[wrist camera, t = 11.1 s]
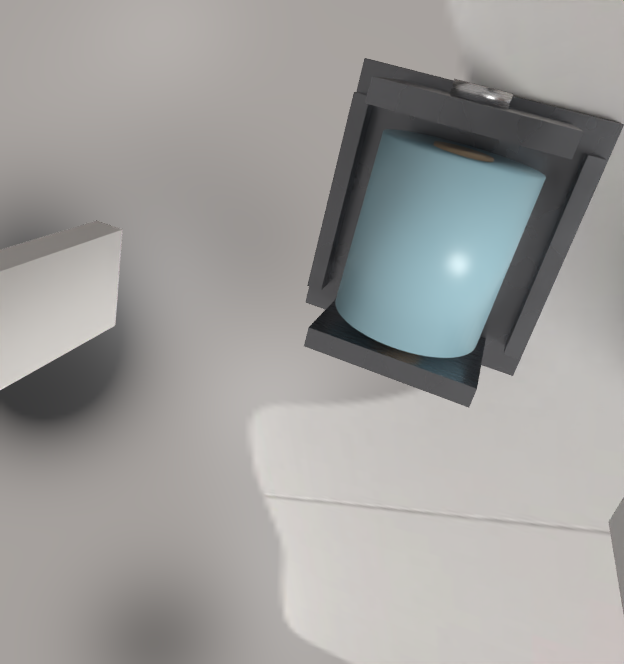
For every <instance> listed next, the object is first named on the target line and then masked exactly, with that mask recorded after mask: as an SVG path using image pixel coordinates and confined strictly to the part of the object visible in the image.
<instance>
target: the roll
mask: <svg viewBox="0 0 624 664" xmlns="http://www.w3.org/2000/svg"><path fill="white" fill-rule="evenodd" d="M545 179H546V176H545V175H544V174H542V173H541V172H539V171H537V170H535V169H533V168H531V167H529V166H526V165H524V164H522V163H519V162H516V161H514V160H511V159H508V158H506V157H503V156H500V155H497V154H494V153H491V152H488V151H484V150H481V149H478V148H475V147H471V146H468V145H464V144H461V143H457V142H453V141H450V140H446V139H442V138H438V137H434V136H429V135H425V134H420V133H415V132H409V131H403V130H395V129H386V130H384V131H383V133H382V137H381V140H380V144H379V147H378V151H377V155H376V158H375V162H374V165H373V169H372V172H371V176H370V179H369V183H368V186H367V190H366V194H365V197H364V201H363V204H362V208H361V211H360V215H359V218H358V222H357V226H356V229H355V233H354V236H353V240H352V243H351V247H350V250H349V254H348V258H347V261H346V265H345V268H344V272H343V275H342V279H341V282H340V286H339V290H338V293H337V297H336V300H335V305H336V308H337V310H338V312H339V314H340V315H341V316H342V318H343V319H344V320H345V321H346V322H348V323H349V324H350V325H351V326H352V327H354V328H355V329H357V330H358V331H360V332H361V333H363V334H365V335H366V336H368V337H370V338H372V339H374V340H376V341H378V342H380V343H383V344H385V345H388V346H390V347H393V348H396V349H399V350H402V351H405V352H409V353H413V354H417V355H423V356H428V357H437V358H453V357H460V356H464V355H467V354H469V353H471V352H472V351H473V350H474V349H475V347H476V345H477V343H478V340H479V338H480V335H481V333H482V331H483V328H484V326H485V323H486V321H487V318H488V316H489V314H490V311H491V309H492V306H493V304H494V302H495V299H496V297H497V294H498V292H499V290H500V287H501V285H502V282H503V280H504V278H505V275H506V273H507V270H508V268H509V266H510V263H511V261H512V258H513V256H514V254H515V251H516V249H517V246H518V244H519V241H520V239H521V237H522V234H523V232H524V229H525V227H526V225H527V222H528V220H529V217H530V215H531V213H532V210H533V208H534V205H535V203H536V201H537V198H538V196H539V193H540V191H541V189H542V186H543V184H544V181H545Z"/></svg>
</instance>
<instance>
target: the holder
mask: <svg viewBox="0 0 624 664" xmlns="http://www.w3.org/2000/svg"><path fill="white" fill-rule="evenodd" d="M623 126H624V124H621V123H617V122H613V121H609V120H605V119H601V118H598V117H594V116H590V115H586V114H582V113H578V112H574V111H570V110H566V109H562V108H558V107H554V106H551V105H547V104H543V103H539V102H535V101H531V100H527V99H523V98H519V97H515V96H513V94H512V93H508V92H504V91H500V90H497V89H493V88H489V87H485V86H481V85H477V84H473V83H469V82H465V81H461V80H457V79H455V80H454V81H453V80H449V79H444V78H441V77H437V76H433V75H429V74H425V73H421V72H417V71H414V70H410V69H406V68H402V67H398V66H394V65H390V64H386V63H382V62H378V61H375V60H371V59H366V58H365V59H364V63H363V68H362V72H361V76H360V80H359V84H358V88H357V92H354V95H353V99H352V103H351V107H350V112H349V115H348V119H347V124H346V128H345V132H344V136H343V141H342V144H341V149H340V153H339V157H338V161H337V165H336V170H335V174H334V178H333V182H332V186H331V190H330V194H329V199H328V203H327V207H326V211H325V215H324V219H323V224H322V228H321V232H320V236H319V240H318V244H317V249H316V252H315V257H314V261H313V265H312V270H311V274H310V277H309V282H308V286H309V291H308V294H307V299H306V303H309V304H312V305H315V306H317V307H321V308H323V309H326V310H325V311H324V312H323V313H322V314H321V315H320V316H319V317H318V318H317V319H316V321H314V323H312V325H311V326H310V327H309V328H308V333H307V336H306V340H305V344H304V346H305V347H308V348H311V349H313V350H316V351H319V352H322V353H325V354H327V355H330V356H332V357H335V358H338V359H340V360H343V361H346V362H348V363H351V364H354V365H357V366H359V367H362V368H365V369H367V370H370V371H372V372H375V373H378V374H381V375H383V376H386V377H389V378H391V379H394V380H397V381H399V382H402V383H405V384H407V385H410V386H413V387H415V388H418V389H421V390H423V391H426V392H429V393H432V394H434V395H437V396H440V397H442V398H445V399H448V400H450V401H453V402H456V403H458V404H461V405H464V406H466V407H469V406H470V404H471V401H472V399H473V397H474V394H475V392H476V389H477V385H478V379H479V374H480V368H481V365H483V366H486V367H489V368H492V369H495V370H498V371H500V372H503V373H506V374H509V375H512V376H513V374H514V372H515V370H516V368H517V365H518V363H519V361H520V359H521V356H522V354H523V352H524V350H525V347H526V345H527V343H528V340H529V338H530V336H531V334H532V331H533V329H534V327H535V325H536V322H537V320H538V318H539V316H540V313H541V311H542V309H543V307H544V304H545V302H546V300H547V297H548V295H549V293H550V291H551V288H552V286H553V284H554V282H555V279H556V277H557V275H558V273H559V270H560V268H561V266H562V264H563V261H564V259H565V257H566V254H567V252H568V250H569V248H570V245H571V243H572V241H573V239H574V236H575V234H576V232H577V230H578V227H579V225H580V223H581V221H582V218H583V216H584V214H585V212H586V209H587V207H588V205H589V202H590V200H591V198H592V196H593V193H594V191H595V189H596V187H597V184H598V182H599V180H600V178H601V175H602V173H603V171H604V169H605V166H606V164H607V162H608V159H609V157H610V155H611V153H612V150H613V148H614V146H615V144H616V141H617V139H618V137H619V135H620V132H621V130H622V128H623ZM386 129H395V130H403V131H409V132H415V133H420V134H425V135H429V136H434V137H438V138H442V139H446V140H450V141H453V142H457V143H461V144H464V145H468V146H471V147H475V148H478V149H481V150H484V151H488V152H491V153H494V154H497V155H500V156H503V157H506V158H508V159H511V160H514V161H516V162H519V163H522V164H524V165H526V166H529V167H531V168H533V169H535V170H537V171H539V172H541V173H542V174H544V175H545V176H546V179H545V181H544V184H543V186H542V189H541V191H540V193H539V196H538V198H537V201H536V203H535V205H534V208H533V210H532V213H531V215H530V217H529V220H528V222H527V225H526V227H525V229H524V232H523V234H522V237H521V239H520V241H519V244H518V246H517V249H516V251H515V254H514V256H513V258H512V261H511V263H510V266H509V268H508V270H507V273H506V275H505V278H504V280H503V282H502V285H501V287H500V290H499V292H498V294H497V297H496V299H495V302H494V304H493V306H492V309H491V311H490V314H489V316H488V318H487V321H486V323H485V326H484V328H483V331H482V333H481V335H480V338H479V340H478V343H477V345H476V347H475V349H474V350H473V351H472V352H471V353H469V354H467V355H464V356H460V357H453V358H437V357H428V356H423V355H417V354H413V353H409V352H405V351H402V350H399V349H396V348H393V347H390V346H388V345H385V344H383V343H380V342H378V341H376V340H374V339H372V338H370V337H368V336H366V335H365V334H363V333H361V332H360V331H358V330H357V329H355V328H354V327H352V326H351V325H350V324H349V323H348V322H346V321H345V320H344V319H343V318H342V316H341V315H340V314H339V312H338V310H337V308H336V305H335V300H336V297H337V293H338V290H339V286H340V282H341V279H342V275H343V272H344V268H345V265H346V261H347V258H348V254H349V250H350V247H351V243H352V240H353V236H354V233H355V229H356V226H357V222H358V218H359V215H360V211H361V208H362V204H363V201H364V197H365V194H366V190H367V186H368V183H369V179H370V176H371V172H372V169H373V165H374V162H375V158H376V155H377V151H378V147H379V144H380V140H381V137H382V133H383V131H384V130H386Z"/></svg>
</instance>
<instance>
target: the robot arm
mask: <svg viewBox="0 0 624 664" xmlns="http://www.w3.org/2000/svg"><path fill="white" fill-rule="evenodd" d="M121 241H122V229H119V228H116V227H113V226H111V225H108V224H105V223H102V222H99V221H94V222H91V223H87V224H84V225H81V226H77V227H74V228H71V229H68V230H64V231H61V232H57V233H54V234H51V235H47V236H44V237H41V238H38V239H34V240H31V241H28V242H24V243H21V244H18V245H14V246H11V247H8V248H4V249H1V250H0V390H1V389H3V388H5V387H6V386H8V385H10V384H12V383H14V382H15V381H17V380H19V379H21V378H23V377H24V376H26V375H28V374H30V373H31V372H33V371H35V370H37V369H38V368H40V367H42V366H44V365H46V364H47V363H49V362H51V361H52V360H54V359H56V358H58V357H60V356H62V355H63V354H65V353H67V352H69V351H70V350H72V349H74V348H76V347H78V346H79V345H81V344H83V343H85V342H86V341H88V340H90V339H92V338H94V337H95V336H97V335H99V334H101V333H102V332H104V331H106V330H108V329H109V328H111V327H113V326H114V325H115V319H116V307H117V293H118V280H119V268H120V255H121ZM609 527H610V533H611V539H612V546H613V552H614V558H615V564H616V570H617V576H618V582H619V589H620V595H621V601H622V607H623V613H624V498H623V499H622V501H621V502H620V504H619V506H618V507H617V509H616V511H615V512H614V514H613V515H612V517H611V519H610V520H609Z"/></svg>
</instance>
